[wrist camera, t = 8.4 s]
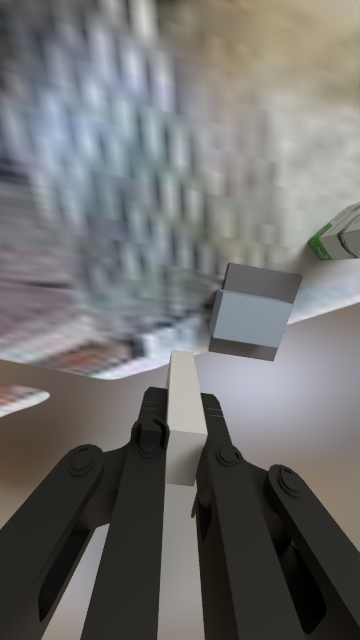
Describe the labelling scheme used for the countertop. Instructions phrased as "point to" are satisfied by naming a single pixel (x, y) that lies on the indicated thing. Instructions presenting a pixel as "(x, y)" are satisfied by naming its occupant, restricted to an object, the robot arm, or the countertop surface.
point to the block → (249, 318)
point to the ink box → (339, 236)
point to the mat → (259, 285)
